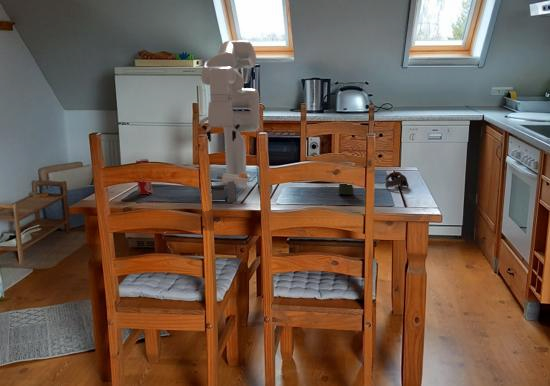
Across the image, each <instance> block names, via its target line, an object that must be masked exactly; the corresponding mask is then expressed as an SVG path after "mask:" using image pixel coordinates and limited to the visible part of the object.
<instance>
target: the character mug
mask: <svg viewBox="0 0 550 386" xmlns="http://www.w3.org/2000/svg"><path fill="white" fill-rule="evenodd" d="M339 163H340V164H347V165H355V164H356V163H355V162H350V161H349V162H346V161H345V162H342V161H341V162H339ZM355 166H356V165H355ZM339 194H340V195H345V196H347V195H348V196H349V195H354V185H353V186H352V185H347V184H340V183H339V185H338V195H339Z"/></svg>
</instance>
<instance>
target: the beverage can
mask: <svg viewBox="0 0 550 386" xmlns="http://www.w3.org/2000/svg"><path fill="white" fill-rule="evenodd" d="M141 162H149V163H150V161H149V159H148V158H147V159H146V158H144V159H143V158H141V159H136V160H135V164H136V163H141ZM152 185H153V184H152V181H151V182H137V188H138V194H149V193H152V194H153V186H152ZM149 195H150V194H149Z"/></svg>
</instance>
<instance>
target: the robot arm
mask: <svg viewBox="0 0 550 386" xmlns="http://www.w3.org/2000/svg"><path fill="white" fill-rule="evenodd" d="M256 55H257V54H256V51H255V49H254V46H253V44H252V43H251V42H250V41H248V40H227V41H224V42H223V43H222V44H221V46H220V48H219V51H218V54H216V55H215V56H212V57H210V58H209V59H207V60H206V61H205V62H204V64H203V65H202V69H201V71H200V73H201V74H200V80H201V82H202V84H204V85H206V86H209V91H210V93H209V94H210V101H209V102H208V107H207V109H208V110H207V111H208V112H207V116H206V117H204V118H203V119H201V120H199V124H200V126H201V127H202V129H203V130H204V131H205V132H206V137H207V136H208V139H207V140H208V142H211V141H212V135H211V134H212V131H211V129H212V128H222V129H223V133H224V145H225V148H224V149H225V166H226V167H225V170H226V171H225V172H226V173H225V174H234V175H239V174H240V173H242V172H244V173H246V174H247V176H248V174H249V173H248V172H247V155H246V154H247V153H246V139H245V138H244V137H243V135H242V134H241V132H242V133H243V132H246V133H247V132H248V133H249V132H251V133H252V132H257V131H258V130H259V129H260V121H261V116H260V108H261V107H260V106H261V105H260V104H261V103H260V101H261V100H260V94H259V91H258V90H257V89H255V88H245V87H244V86H245V82H244V81H245V79H244V77H243V75H242V74H241V73H240V72H239V71H238V70H237V69H252V68H254V67H255V66H256V64H257V56H256ZM234 110H236V111H234ZM237 110H238V111H237ZM241 110H242V111H241ZM243 110H244V111H243ZM246 110H247V111H246ZM205 122H207V123H208V126H206V124H205Z"/></svg>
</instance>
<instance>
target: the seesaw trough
mask: <svg viewBox="0 0 550 386" xmlns="http://www.w3.org/2000/svg"><path fill="white" fill-rule="evenodd" d="M247 174H248V176H247V179H245V178H239V175H234V174H226V173H225V172H224V173H217V174H216V180H217V179H218V180H221V184H226V185H228V181H234V184H236V186H237V185H239V186H247V184H248V183H249V181H250V177H249V176H250V174H249V173H247Z"/></svg>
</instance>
